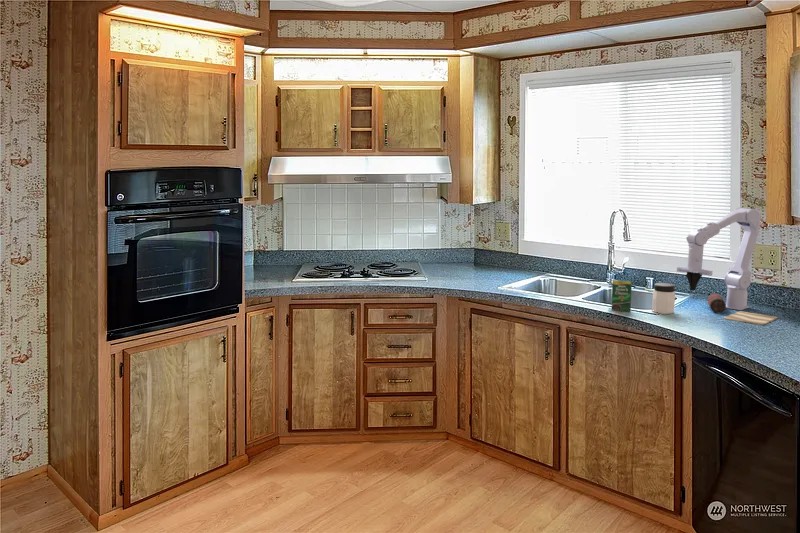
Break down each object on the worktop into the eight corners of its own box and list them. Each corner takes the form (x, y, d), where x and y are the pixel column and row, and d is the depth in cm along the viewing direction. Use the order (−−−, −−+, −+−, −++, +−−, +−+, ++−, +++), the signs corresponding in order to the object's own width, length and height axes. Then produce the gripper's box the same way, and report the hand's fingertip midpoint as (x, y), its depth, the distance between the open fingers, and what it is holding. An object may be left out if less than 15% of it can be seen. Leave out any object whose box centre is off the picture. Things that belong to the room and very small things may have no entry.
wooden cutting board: (739, 312, 287) (739, 311, 287) (777, 318, 277) (777, 317, 277) (723, 318, 275) (723, 317, 275) (762, 325, 264) (762, 324, 264)
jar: (649, 309, 291) (651, 282, 289) (668, 309, 291) (670, 282, 289) (656, 314, 282) (658, 286, 280) (676, 314, 282) (678, 286, 280)
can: (711, 314, 286) (708, 308, 299) (727, 311, 284) (723, 304, 297) (707, 301, 286) (704, 295, 299) (723, 297, 284) (720, 291, 297)
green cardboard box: (610, 310, 289) (612, 280, 287) (611, 308, 292) (613, 279, 289) (630, 312, 286) (632, 281, 284) (630, 310, 288) (632, 280, 286)
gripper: (674, 258, 289) (672, 288, 292) (708, 261, 279) (706, 293, 281) (681, 256, 294) (679, 286, 296) (715, 260, 284) (712, 291, 286)
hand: (692, 290), depth 289 cm, fingers closed
